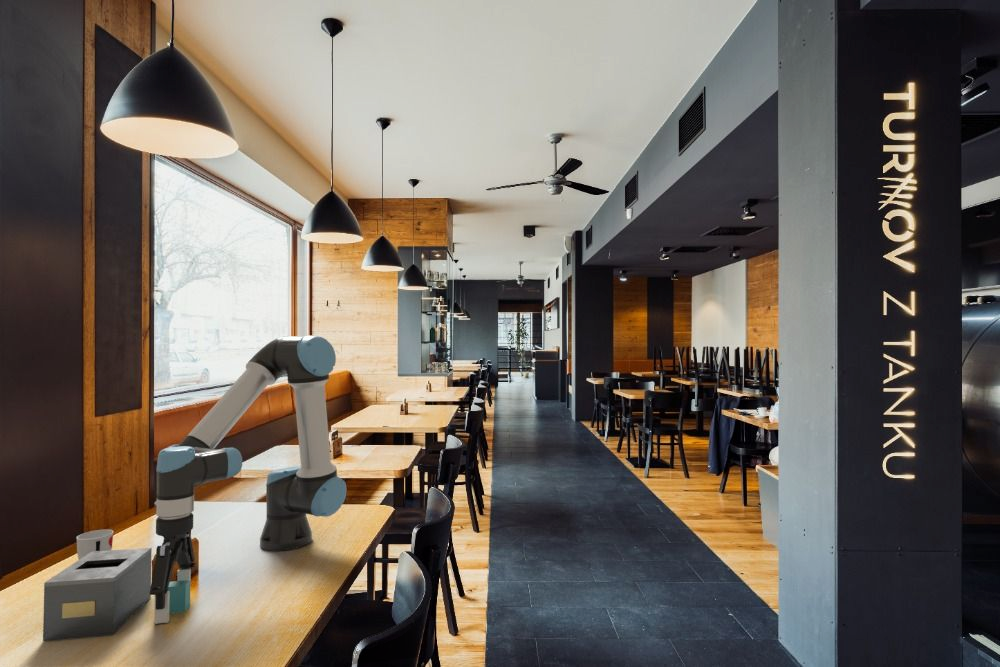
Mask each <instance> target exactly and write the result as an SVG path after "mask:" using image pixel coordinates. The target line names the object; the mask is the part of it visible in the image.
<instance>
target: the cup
mask: <svg viewBox="0 0 1000 667" xmlns="http://www.w3.org/2000/svg"><path fill="white" fill-rule="evenodd" d="M113 540H114V530H112V529H98V530H96V529H95V530H91V531H87V532H84V533H81V534H79V535H77V536H76V551H77V552H76V553H77V557H78V560H80V559H81V558H83V557H84V556H86V555H87V554H89V553H90V552H93V551H108V550H113Z"/></svg>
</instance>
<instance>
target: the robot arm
mask: <svg viewBox="0 0 1000 667" xmlns="http://www.w3.org/2000/svg"><path fill="white" fill-rule="evenodd" d="M336 356H337V355H336V351H335V349H334V346H333V345H332V344H331V342H329V341H328V339H326V338H325V337H322V336H315V335H308V334H307V335H295V336H290V335H287V336H280V337H278V338H275V339H273V340H271V341H270V342H268V343H266V345H264V346H263V347H262V348H261V349H259V351H258V352H256V353H255V354H254V355H253V356H252V357H251V358H250V359H249V361H248V362H247V363H246V365H245V370H244V371H243V373H242V374H241V375H240V376H239V377H238V378H237V379H236V381H234V383H232V385H231V386H230V387H229V389H228V390H226V392H224V394H223V395H222V396H220V398H219V400H218V401H217V402H216V403H215V404H214V406H212V407H211V409H210V410H209V411H208V412H207V413H206V414H205V415H204V416H203V418H202V419H201V420H200V421H199V422H198V423H197V424H196V425H195V427H194V428H193V429H192V430H190V432H189V433H188V434H187V435H186V436H185V438H184V439H182V440H181V442H180V443H176V444H172V445H170V446H167V447H166V448H163V449H161V450H160V451H159V453H158V454H157V459H156V460H157V461H156V469H155V470H156V501H154V505H155V506H156V510H155V511H156V516H157V518H156V520H155V534H156V535H157V536H159V537H160V536H161V537H163V540H162V541H163V542H162V544H161V545H157V547H156V550H155V562H154V567H153V572H152V577H151V589H150V595H151V596H154V612H153V614H154V616H153V620H154V621H153V623H154V625H155V624H156V625H157V624H165V623H166V624H168V623H169V622H170V613H169V599H170V591H168V587H169V583H170V582H171V578H172V574H173V570H174V565H175V563H176V562H177V565H178V567H179V569H178V570H177V571H176V573H177V574H176V575H177V580H176V581H186V580H190V582H191V576H192V575H191V574H192V572H191V571H192V568H196V562H195V560H196V558H195V553H194V548H193V540H192V530H193V529H194V514H193V512H194V511H195V507H194V506H195V486H199V485H202V484H207V483H210V482H212V483H213V482H216V481H220V480H228V479H229V478H233V477H236V476H237V475H238V474H240V473H241V470H242V467H243V456H242V454H241V452H240V450H239V449H237V448H235V447H222V448H219V449H218V448H216V447H217V446H218V445H219V443H220V442H221V441H222V440H223V439H224V438H225V437H226V435H227V434H228V433H229V431H231V429H232V428H233V427H234V426H235V424H236V423H237V422H238V421H239V420H240V419H241V417H242V416H243V415H244V414H245V413H246V411H247V410H248V409H249V408H250V407H251V405H253V403H254V402H255V401H257V400H256V399H258V397H260V395H261V394H262V392H264V390H265V389H266V388H267V387H268V386H273V385H274V384H275V383H276V381H277V380H279V379H280V378H282V377H283V376H287V384H288V385H289V386H291V387H292V388H293V391H294V402H295V415H296V427H297V428H296V429H297V438H298V448H299V461H300V465H298V466H289V467H283V468H279V469H278V468H277V469H275V470H271V471H270V472H269V473H268V474H267V477H266V478H267V479H266V484H265V487H266V488H265V490H266V493H265V494H266V518H265V519H266V520H265V523H264V525H263V529H262V531H261V535H260V538H259V547H260V548H261V549H263V550H266V551H270V552H271V551H274V552H276V551H277V552H280V551H289V550H294V549H300V548H302V547H304V546H307V545H308V544H309V543H311V542H312V540H313V538H312V537H313V532H312V529H311V526H310V522H309V520H308V517H307V515H311V516H314V517H316V518H317V517H324V518H325V517H326V518H327V517H331V516H333V515H335V514H336V513H337V512H338V511H339V509H341V508H342V504H344V502H345V499H346V496H347V490H348V489H347V484H346V482H345V480H343V478H341V477H339V476H338V472H337V471H338V470H337V465H336V464H334V463H332V462H331V460H332V459H331V451H330V450H331V448H330V439H329V437H330V436H329V427H328V426H329V423H328V414H327V403H326V402H327V400H326V390H325V389H326V388H325V385H326V384H327V383H328V381H329V380H330V375H329V374H331V373H332V372H333V370H334V367H335V366H336V362H337V358H336ZM215 448H216V449H215ZM159 587H160V588H159Z"/></svg>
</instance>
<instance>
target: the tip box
mask: <svg viewBox="0 0 1000 667" xmlns="http://www.w3.org/2000/svg"><path fill="white" fill-rule="evenodd" d="M151 583H152V547H142V548H140V547H139V548H128V549H127V548H125V549H112V550H108V551H93V552H90V553H89V554H87V555H86V556H84V557H83V558H81V559H80V560H79V559H78V560H76V561H75V562H74V563H72V564H71V565H69V566H67V567H66V568H64V569H63V570H62V571H60V572H59V573H57V574H55V575H54V576H53V577H51V578H49V579H48V580H46V581H44V583H43V585H44V586H43V587H44V588H43V621H42V622H43V624H42V625H43V626H42V628H43V629H42V642H43V641H45V642H54V641H55V642H56V641H65V640H74V639H77V640H78V639H87V638H97V637H109V636H110V637H111V636H114V635H115V634H116V633H117V632H118V631H119V630H121V628H122V627H123V626H124V625H125V624H126V623H127V622H128V621H129V620H130V619H131V618H132V617H133V616H134V615H136V613H137V612H138V611H139V610H140V609H141V608H142V607H143V606H144V605H145V604H146V603H147V602H148V601H149V600H150V599H151V598H152V595H150V589H151Z"/></svg>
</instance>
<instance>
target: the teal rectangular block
mask: <svg viewBox="0 0 1000 667" xmlns="http://www.w3.org/2000/svg"><path fill="white" fill-rule="evenodd" d="M159 588H160V587H159ZM168 591H170V599H169V614H174V613H184V612H185V613H186V611H187V610H188V609H189V608H190V606H191V581H190V580H186V581H177V580H175V581H170V583H169V587H168Z"/></svg>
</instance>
